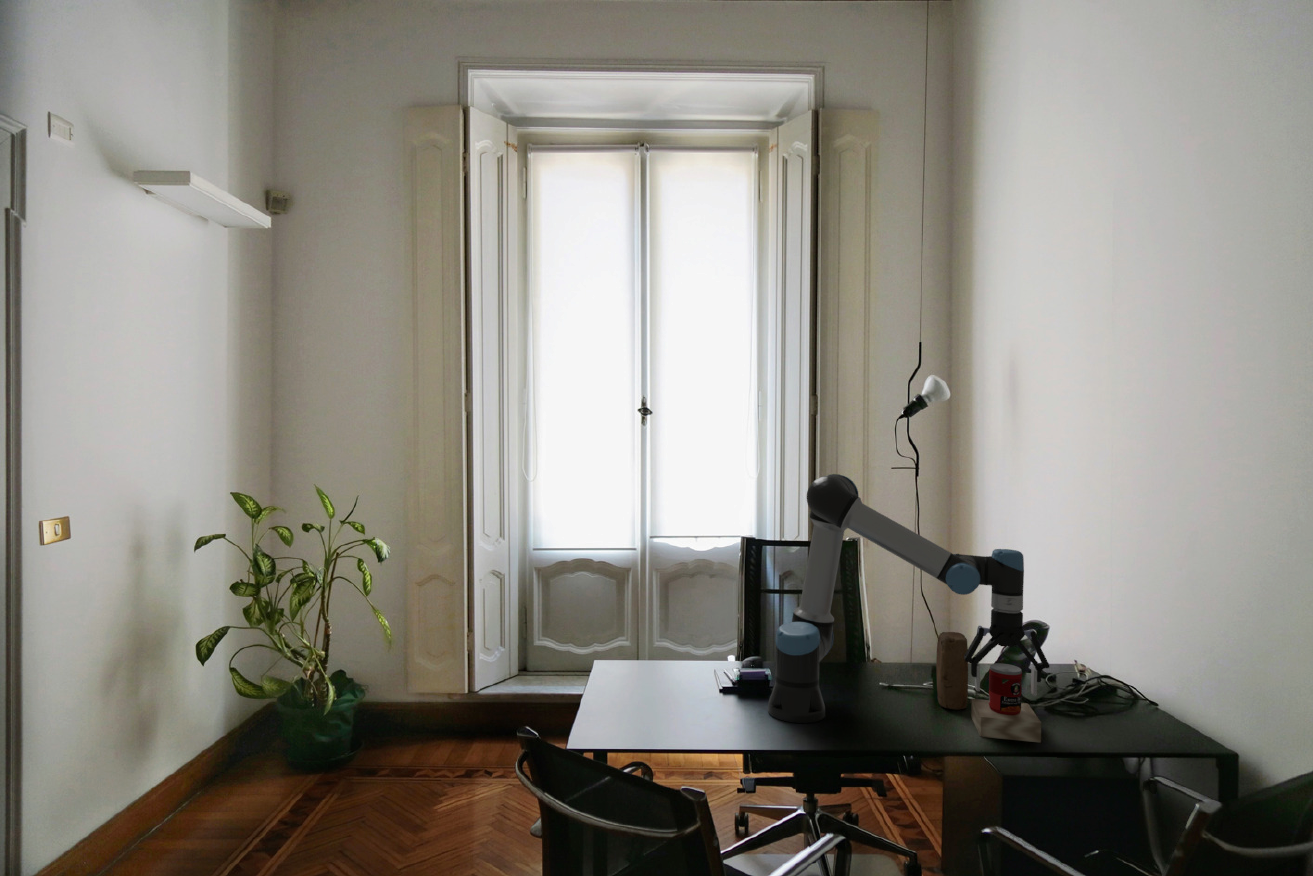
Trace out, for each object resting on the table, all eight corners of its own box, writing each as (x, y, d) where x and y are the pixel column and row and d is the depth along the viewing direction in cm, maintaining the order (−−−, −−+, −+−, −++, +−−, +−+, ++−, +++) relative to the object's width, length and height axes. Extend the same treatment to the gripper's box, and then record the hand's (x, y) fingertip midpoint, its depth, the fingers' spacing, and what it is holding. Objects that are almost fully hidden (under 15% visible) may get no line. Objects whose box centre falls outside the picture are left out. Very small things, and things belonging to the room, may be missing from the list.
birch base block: (980, 736, 196) (980, 717, 196) (971, 717, 210) (971, 698, 210) (1040, 742, 193) (1041, 722, 193) (1027, 722, 207) (1027, 703, 207)
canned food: (1003, 716, 197) (1003, 673, 196) (981, 706, 204) (982, 664, 204) (1028, 714, 199) (1029, 671, 199) (1006, 703, 206) (1007, 662, 206)
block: (968, 712, 214) (970, 639, 213) (940, 710, 215) (941, 637, 215) (961, 699, 224) (962, 630, 224) (933, 697, 226) (935, 628, 225)
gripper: (958, 609, 200) (956, 692, 201) (1063, 616, 195) (1061, 701, 195) (953, 603, 208) (952, 683, 208) (1055, 610, 202) (1053, 691, 202)
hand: (1005, 692), depth 201 cm, fingers open, 13 cm apart
